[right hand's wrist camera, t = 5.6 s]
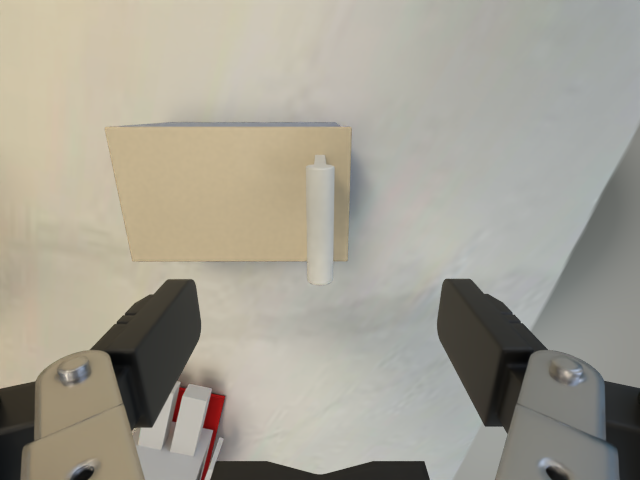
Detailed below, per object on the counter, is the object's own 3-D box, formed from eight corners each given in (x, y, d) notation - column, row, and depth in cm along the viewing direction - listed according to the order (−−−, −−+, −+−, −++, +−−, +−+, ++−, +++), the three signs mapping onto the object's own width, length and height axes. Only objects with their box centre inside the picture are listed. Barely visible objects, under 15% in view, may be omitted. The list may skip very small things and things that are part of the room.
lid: (350, 126, 24) (364, 133, 16) (346, 257, 27) (357, 311, 20) (111, 126, 24) (17, 133, 16) (137, 257, 27) (69, 311, 20)
